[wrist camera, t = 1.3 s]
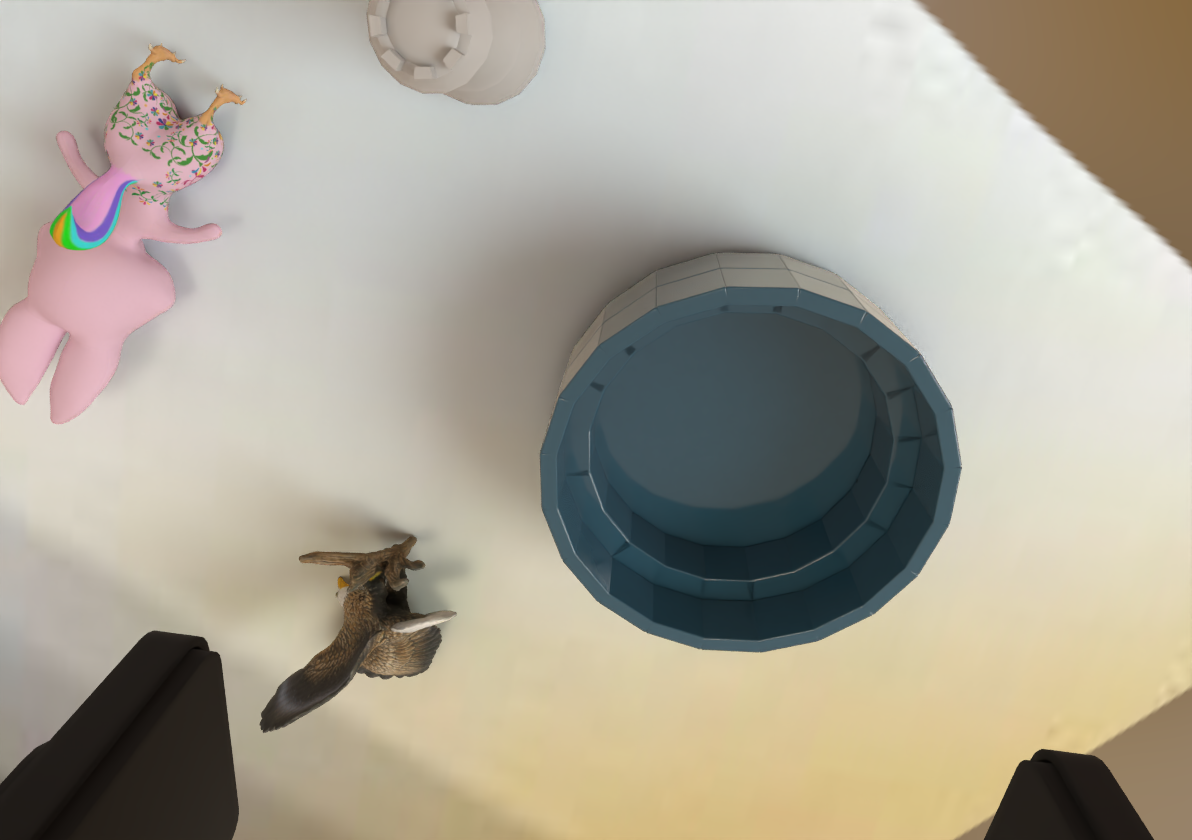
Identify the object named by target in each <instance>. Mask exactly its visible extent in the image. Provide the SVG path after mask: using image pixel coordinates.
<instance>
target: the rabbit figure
mask: <svg viewBox="0 0 1192 840" xmlns="http://www.w3.org/2000/svg"><path fill="white" fill-rule="evenodd" d="M149 50H150V51H151V54H150V55H149V56H148V58H147V59H146V61H145V62H144V64H142V65H141V66H140V67H138V68H137V69H135V70H134V71H133V73H132V81H131V83H130V84H129V86H128V88H127V89H126V91H125V93H124V94H123V96H122V98H121V99H120V101H119V102H118V104H117V105H116V107H115V108H114V110H113V111H112V113H111V114H110V116H109V118H108V120H107V122H106V126H105V132H104V146H105V151H106V154H107V156H108V159H109V161H110V162H111V164H112V166H111V168H110V169H109V170H108V171H107V172H106V173H105V174H103V175H102V176H100V177H98V176H97V175H95V174H94V173H93V172H92V171H91V170H90V168H89V167H88V166H87V165H86V164H85V163H84V161H83V160H82V158H81V156H80V154H79V150H78V147H77V143H76V140H75V138H74V137H73V135H72V134H71V133H69V132H67V131H60V132H59V133H57V136H56V140H57V143H58V146H59V148H60V150H61V152H62V154H63V156H64V158H65V161H66V163H67V165H68V167H69V169H70V170H71V172H72V174H73V175H74V177H75V178H76V180H77V181H78V182H79V184H80V185H81V186H82V188H83V189H84V190H82V191H81V192H80V193H79V194H78V195H77V196H76V197H75V198H74V199H73V200H72V201H71V202H70V203H69V204H68V206H67V207H66V208H65V209H64V210H63V211H62V212H61V213H60V214H59V215H58V216H57V217H56V219H55V220H54V221H52V222H48V223H46V224H44V225H43V226H42V227H41V229H40V231H39V234H38V242H37V257H36V260H35V263H34V265H33V268H32V270H31V273H30V277H29V283H28V297H27V298H25V299H24V300H22V301H20V302H18V303H17V304H15V305H14V306H12V307H11V308H10V309H9V311H8V312H7V313H6V315H5V317H4V318H3V320H2V322H1V325H0V379H1V381H2V383H3V385H4V386H5V388H6V390H7V391H8V392H9V394H10V395H11V397H12V398H13V399H14V400H15V401H16V402H17V403H18V404H21V405H24V404H25V403H26V402H27V400H28V399H29V397H30V395H31V394H32V392H33V391H34V390H35V388H36V387H37V386H38V384H39V382H40V380H41V378H42V377H43V375H44V373H45V371H46V370H47V368H48V366H49V364H50V362H51V361H52V359H53V357H54V355H55V353H56V351H57V349H58V347H59V345H60V343H61V341H62V339H63V337H64V335H65V334H66V333H67V332H68V333H69V334H70V337H69V340H68V342H67V344H66V345H65V347H64V349H63V351H62V353H61V356H60V359H59V362H58V365H57V368H56V371H55V373H54V376H53V379H52V382H51V386H50V405H51V416H50V418H51V421H52V422H53V423H54V424H63V423H66V422H68V421H70V420H72V419H74V418H75V417H77V416H78V415H79V414H81V413H82V412H83V411H84V410H85V409H86V408H87V407H88V406H89V405H90V404H91V403H92V402H93V401H94V399H95V398H96V397H97V396H98V395H99V394H100V393H101V391H102V390H103V389H104V388H105V387H106V385H107V384H108V383H109V381H110V380H111V378H112V377H113V375H114V373H115V371H116V369H117V367H118V363H119V360H120V355H121V349H122V345H123V343H124V341H125V339H126V338H127V337H128V335H130V334H131V333H132V332H133V331H135V330H136V329H138V328H139V327H141V326H142V325H144V324H146V323H147V322H149V321H150V320H152V319H153V318H155V317H157V316H158V315H160V314H162V313H163V312H165V311H167V310H168V309H170V308H171V307H172V306H173V304H174V302H175V288H174V284H173V280H172V278H171V276H170V274H169V272H168V271H167V270H166V268H165V267H164V266H163V265H161V264H160V263H159V262H158V261H156V260H155V259H154V258H152V257H151V256H150V255H149V254H148V253H146V250H145V247H144V244H143V242H142V240H141V239H152V240H157V241H161V242H168V243H182V244H191V243H199V242H204V241H210V240H214V239H217V238H219V237H220V236H221V234H222V230H221V228H220V227H219V226H218V225H217V224H206V225H203V226H201V227H199V228H194V229H190V228H185V227H181V226H178V225H175V224H174V223H172V222H171V221H170V220H169V218H168V205H169V199H170V196H171V195H172V193H174V192H176V191H178V190H181V189H183V188H185V187H187V186H189V185H191V184H193V183H195V182H197V181H199V180H200V179H202V178H203V177H205V176H206V175H207V174H208V173H209V172H211V170H212V169H213V168H214V167H215V166H216V165H217V163H218V162H219V160H220V158H221V156H222V154H223V150H224V142H223V138H222V136H221V134H220V132H219V131H218V129H217V128H216V127H215V125H214V123H213V115H214V112H215V111H216V110H217V109H218V108H219V107H220V106H221V105H222V104H224V103H229V102H235V104H238V103H239V104H241V105H243V104H244V103H245V102H246V100H247V99H245V100H243V101H242V102H241V101H240V98H241V97H242V96H237V95H235V94H234V93H233V92H232V91H230V90H227V89H225V88H223V84H222V85H221V90H220V91H219V90H218V87H217V89H216V91H215V93H216V94H217V97H216V99H215V100H214V101H213V103H212V104H211V106H210V108H209V109H208V110H207V111H206V112H205V113H203V114H201V115H198V116H196V117H190V118H187V119H184V120H181V119H180V118H179V117H178V114H177V110H176V107H175V105H174V103H173V101H172V100H171V98H170V97H169V96H168V95H167V94H166V93H164V92H163V91H162V90H160V89H158V88H157V87H156V86H155V85H154V84H153V82H152V80H151V78H150V71H151V68H152V66H153V65H154V64H155V63H157V62H158V61H164V60H166V59H167V60H171V61H172V62H177V63H184V62H185V60H186V59H185V60H178V59H176V57H175V53H176V52H174V53H171V52H170V51H169V50H168V49H166V48H164V47H162V43H161V45H160V46H155V47H154V48H153V47H152V46H151V44H149Z"/></svg>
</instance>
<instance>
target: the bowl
mask: <svg viewBox="0 0 1192 840" xmlns="http://www.w3.org/2000/svg"><path fill="white" fill-rule="evenodd" d="M961 465H962V463H961V457H960V451H959V445H958V438H957V432H956V426H955V419H954V413H953V408H952V406H951V403H950V402H949V400H948V398H947V397H946V395H945V393H944V392H943V390H942V388H941V387H940V385H939V383H938V382H937V380H936V378H935V377H934V375H933V373H932V372H931V370H930V368H929V367H928V365H927V363H926V362H925V360H924V358H923V356H922V355H921V354H920V352H919V351H918V350H917V349H916V348H915V347H914V346H913V345H912V343H911V342H910V341H909V340H908V339H907V338H906V337H905V336H904V335H903V334H902V332H901V331H900V330H899V329H898V328H897V327H896V326H895V325H894V323H893V322H892V321H891V320H890V319H889V318H888V317H887V316H886V315H885V313H884V312H883V311H882V310H881V309H880V308H879V307H877V306H876V305H875V304H874V303H872V302H871V301H870V300H869V299H867V298H866V297H865V296H864V295H862V294H861V293H860V292H859V291H857V290H856V289H855V288H854V287H852V286H851V285H850V284H848V283H847V282H846V281H845V280H843V279H842V278H841V277H840V276H838V275H837V274H835V273H833V272H830V271H827V270H824V269H822V268H819V267H816V266H813V265H810V264H807V263H804V262H801V261H798V260H796V259H793V258H790V257H787V256H784V255H781V254H776V253H712V254H709V255H706V256H702V257H699V258H696V259H692V260H689V261H686V262H682V263H679V264H676V265H672V266H669V267H666V268H662V269H659V270H657V271H654V272H653V273H651V274H650V275H649V276H647V277H646V278H644V279H643V280H641V281H640V282H638V283H637V284H635V285H634V286H632V287H631V288H630V289H628V290H627V291H625V292H624V293H622V294H621V295H619V296H618V297H616V298H615V299H613V300H612V301H611V302H609V303H608V304H607V305H606V306H605V307H604V309H603V310H602V311H601V313H600V314H599V315H598V316H597V318H596V319H595V320H594V322H593V323H592V324H591V326H590V327H589V328H588V330H587V331H586V332H585V333H584V335H583V336H582V337H581V339H580V340H579V341H578V343H577V344H576V345H575V347H574V348H573V350H572V352H571V355H570V358H569V361H568V365H567V368H566V371H565V374H564V377H563V380H562V383H561V386H560V389H559V392H558V395H557V398H556V401H555V404H554V408H553V411H552V414H551V417H550V421H549V424H548V427H547V431H546V434H545V437H544V440H543V444H542V447H541V450H540V477H541V508H542V511H543V513H544V516H545V518H546V521H547V523H548V526H549V528H550V531H551V533H552V536H553V538H554V541H555V543H556V546H557V548H558V551H559V553H560V556H561V558H562V559H563V562H564V563H565V564H566V565H567V567H568V568H569V569H570V570H571V571H572V572H573V574H574V575H575V576H576V577H577V578H578V579H579V581H580V582H581V583H582V584H583V585H584V586H585V588H586V589H587V590H588V591H589V592H590V594H591V595H592V596H593V597H594V598H595V599H596V601H597V602H599V603H600V604H602V605H603V606H605V607H607V608H608V609H610V610H611V611H613V612H614V613H616V614H617V615H619V616H621V617H622V618H624V619H625V620H627V621H628V622H630V623H631V624H633V625H635V626H636V627H638V628H639V629H641V630H642V631H644V632H647V633H649V634H652V635H655V636H659V637H662V638H665V639H668V640H671V641H675V642H678V643H681V644H684V645H688V646H691V647H694V648H697V649H702V650H719V651H740V652H766V651H771V650H776V649H781V648H786V647H791V646H796V645H801V644H806V643H811V642H816V641H819V640H822V639H824V638H826V637H828V636H830V635H832V634H834V633H836V632H838V631H840V630H843V629H845V628H847V627H849V626H851V625H853V624H855V623H857V622H859V621H861V620H863V619H865V618H867V617H870V616H872V615H873V614H875V613H876V612H877V611H878V610H879V609H881V608H882V607H883V606H884V605H885V604H886V603H887V602H889V601H890V600H891V599H892V598H893V597H894V596H895V595H897V594H898V593H899V592H900V591H901V590H902V589H903V588H905V587H906V586H907V585H908V584H909V583H910V582H911V581H913V580H914V579H915V578H916V577H917V576H918V574H919V573H920V572H921V570H922V568H923V567H924V565H925V564H926V562H927V560H928V559H929V557H930V555H931V554H932V552H933V550H934V549H935V547H936V546H937V544H938V542H939V541H940V539H941V537H942V536H943V534H944V533H945V531H946V529H947V528H948V526H949V524H950V520H951V516H952V511H953V506H954V502H955V497H956V493H957V488H958V483H959V479H960V474H961V469H962V467H961Z"/></svg>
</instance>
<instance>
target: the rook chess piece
mask: <svg viewBox="0 0 1192 840" xmlns="http://www.w3.org/2000/svg"><path fill="white" fill-rule="evenodd" d="M367 22H368V31H369V39H370V43H371V45H372V47H373V49H374V51H375V53H376V55H377V57H378V59H379V61H380V63H381V65H382V66H383V67H384V68H385V69H386V70H387V71H388V72H389V73H390V74H391V75H392V76H393V77H394V78H395V79H396V80H397V81H398V82H399V83H400V84H402V85H404V86H407V87H409V88H411V89H414V90H416V91H418V92H421V93H443V94H445V95H447V96H450V97H452V98H454V99H457V100H459V101H461V102H464V103H466V104H471V105H497V104H499V103H501V102H504V101H506V100H508V99H510V98H512V97H514V96H516V95H518V94H520V93H521V92H522V90H523V89H524V88H525V87H526V86H527V85H528V84H529V82H530V81H531V80H532V79H533V78H534V77H535V75H536V74H537V71H538V68H539V65H540V62H541V59H542V56H543V53H544V50H545V24H544V17H543V14H542V12H541V9H540V7H539V4H538V2H537V0H370V1H369V6H368V10H367Z"/></svg>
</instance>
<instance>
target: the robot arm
mask: <svg viewBox="0 0 1192 840" xmlns="http://www.w3.org/2000/svg"><path fill="white" fill-rule="evenodd" d="M238 815H239V806H238V797H237V789H236V781H235V772H234V764H233V755H232V747H231V739H230V730H229V722H228V713H227V705H226V696H225V688H224V680H223V671H222V663H221V658H220V655H219V654H218V653H217V652H213V651H209V647H208V643H207V641H206V640H205V639H204V638H203V637H198V636H191V635H183V634H176V633H168V632H161V631H152V632H149V633H147V634H146V635H145V636H144V637H142V638H141V639H140V640H139V641H138V642H137V644H136V645H135V646H134V647H133V648H132V649H131V650H130V651H129V653H128V654H127V655H126V656H125V657H124V658H123V659H122V660H121V661H120V663H119V664H118V665H117V666H116V667H115V668H114V669H113V670H112V672H111V673H110V674H109V675H108V676H107V677H106V678H105V679H104V680H103V682H102V683H101V684H100V685H99V686H98V687H97V688H96V689H95V691H94V692H93V693H92V694H91V695H90V696H89V697H88V698H87V699H86V701H85V702H84V703H83V704H82V705H81V706H80V707H79V708H78V710H77V711H76V712H75V713H74V714H73V715H72V716H71V717H70V718H69V720H68V721H67V722H66V723H65V724H64V725H63V726H62V727H61V729H60V730H59V731H58V732H57V733H56V734H55V735H54V736H53V737H52V739H51V740H50V741H48V742H46V743H44V744H42V745H40V746H38V747H36V748H35V749H34V750H33V751H32V752H31V753H30V754H29V755H28V756H26V757H25V758H24V759H23V760H22V761H21V762H20V763H19V764H18V766H17V767H16V768H15V769H14V770H13V771H12V772H11V773H10V774H9V775H8V777H7V778H6V779H5V780H4V781H3V782H2V783H1V784H0V840H232V838H233V835H234V832H235V830H236V826H237V822H238ZM984 840H1154V839H1153V837H1152V836H1151V834H1150V833H1149V831H1148V830H1147V828H1146V826H1145V825H1144V823H1143V822H1142V821H1141V819H1140V817H1139V815H1138V814H1137V812H1136V811H1135V809H1134V808H1133V806H1132V805H1131V803H1130V802H1129V800H1128V798H1127V797H1126V795H1125V794H1124V792H1123V790H1122V789H1121V788H1120V786H1119V784H1118V783H1117V781H1116V780H1115V778H1114V776H1113V775H1112V773H1111V772H1110V770H1109V769H1108V767H1107V766H1106V765H1105V764H1104V762H1103V761H1102V760H1100V759H1099V758H1097V757H1095V756H1092V755H1084V754H1077V753H1069V752H1062V751H1054V750H1046V749H1041V750H1039V751H1037V752H1036V753H1035V754H1034V755H1033V757H1032V758H1031V760H1030V761H1029V760H1024V761H1022V762H1020V764H1019V765H1018V767H1017V768H1016V771H1015V773H1014V775H1013V777H1012V779H1011V781H1010V784H1009V786H1008V788H1007V790H1006V792H1005V795H1004V797H1003V799H1002V801H1001V803H1000V806H999V808H998V810H997V812H996V814H995V816H994V819H993V821H992V823H991V825H990V827H989V830H988V832H987V834H986V836H985V838H984Z"/></svg>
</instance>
